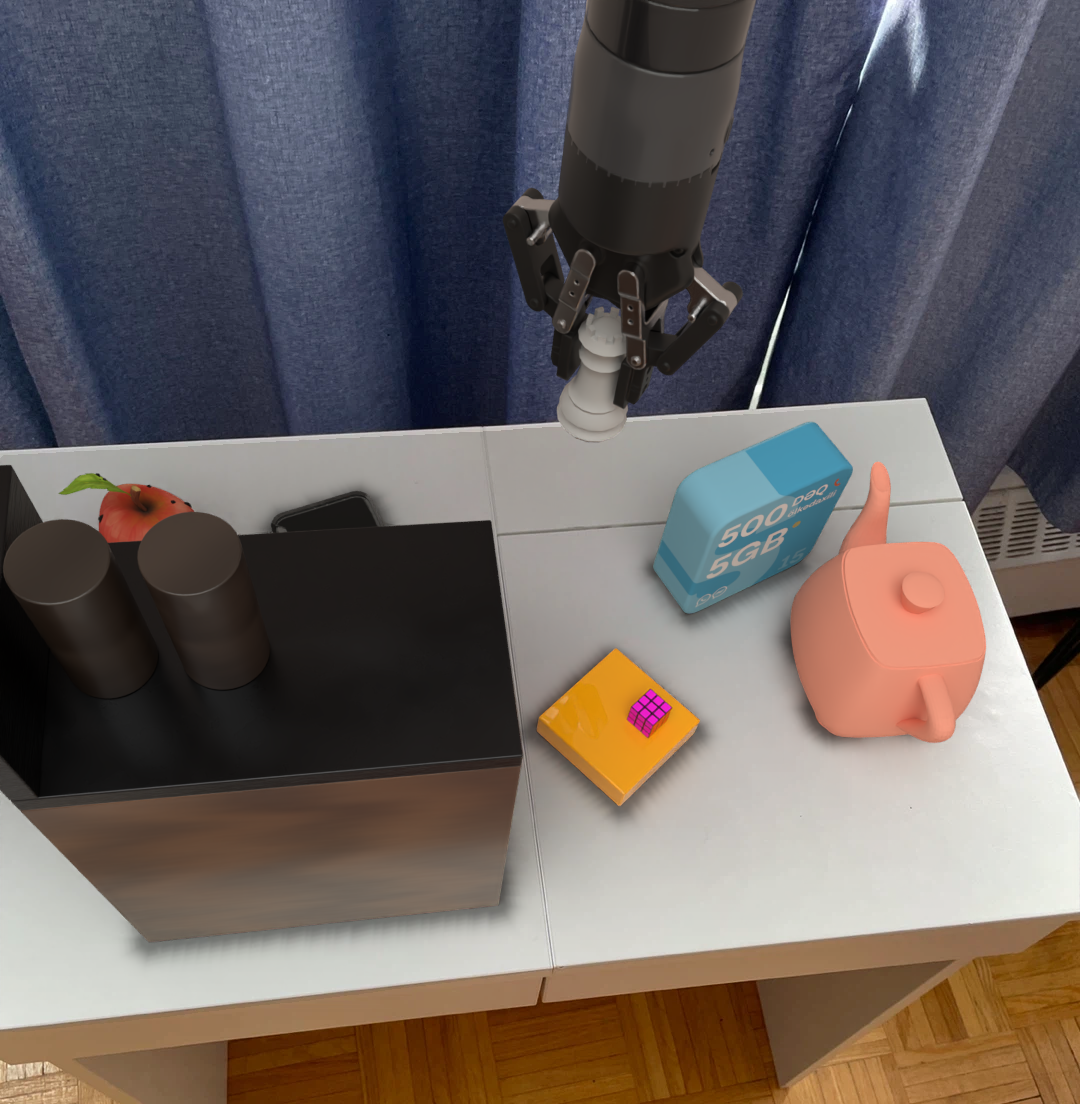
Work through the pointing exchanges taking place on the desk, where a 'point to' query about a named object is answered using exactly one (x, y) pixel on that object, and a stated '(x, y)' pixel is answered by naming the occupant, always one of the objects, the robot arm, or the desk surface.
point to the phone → (330, 514)
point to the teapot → (888, 632)
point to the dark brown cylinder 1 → (82, 607)
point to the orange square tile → (617, 726)
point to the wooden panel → (293, 852)
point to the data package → (749, 515)
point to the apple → (129, 507)
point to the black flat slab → (279, 675)
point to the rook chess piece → (595, 381)
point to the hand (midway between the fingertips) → (597, 383)
